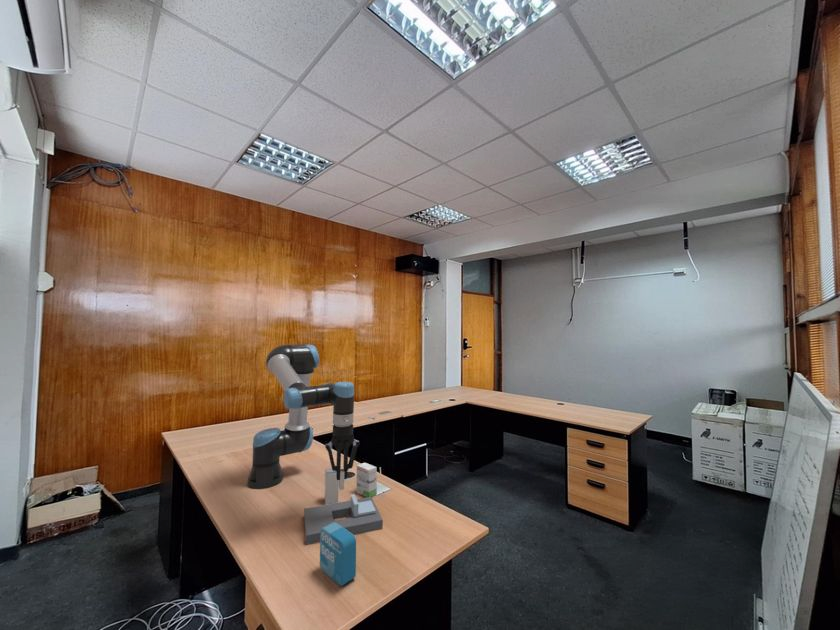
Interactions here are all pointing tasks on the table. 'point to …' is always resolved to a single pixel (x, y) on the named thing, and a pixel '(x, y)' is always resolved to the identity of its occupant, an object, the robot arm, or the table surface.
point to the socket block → (326, 514)
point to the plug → (331, 486)
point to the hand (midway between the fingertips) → (341, 487)
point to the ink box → (366, 480)
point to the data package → (338, 553)
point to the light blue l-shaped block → (361, 507)
